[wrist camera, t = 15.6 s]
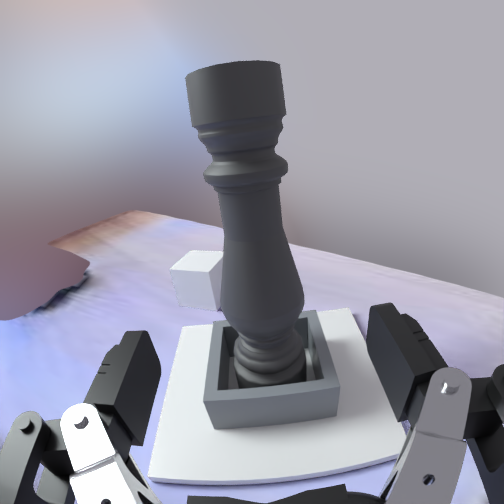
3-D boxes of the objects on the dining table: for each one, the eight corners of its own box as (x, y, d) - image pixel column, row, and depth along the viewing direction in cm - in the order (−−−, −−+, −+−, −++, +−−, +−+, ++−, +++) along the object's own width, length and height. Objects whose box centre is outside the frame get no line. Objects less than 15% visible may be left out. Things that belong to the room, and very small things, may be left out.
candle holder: (315, 399, 24) (297, 57, 13) (243, 415, 23) (176, 69, 13) (296, 354, 29) (272, 74, 19) (235, 366, 29) (184, 85, 18)
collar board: (152, 481, 18) (125, 452, 16) (184, 332, 36) (174, 298, 34) (408, 454, 17) (426, 421, 15) (348, 314, 36) (349, 278, 33)
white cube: (217, 312, 40) (208, 272, 37) (179, 307, 42) (168, 269, 40) (234, 288, 45) (227, 251, 42) (198, 285, 47) (190, 250, 45)
